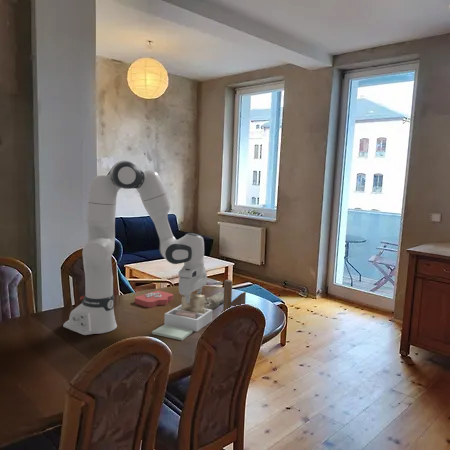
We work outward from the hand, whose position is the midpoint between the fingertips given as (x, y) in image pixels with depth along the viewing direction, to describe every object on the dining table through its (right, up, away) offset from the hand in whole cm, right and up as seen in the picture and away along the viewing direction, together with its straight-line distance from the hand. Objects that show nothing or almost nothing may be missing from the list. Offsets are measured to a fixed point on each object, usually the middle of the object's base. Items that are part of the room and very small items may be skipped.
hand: (193, 299), depth 187 cm
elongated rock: (+8, -8, +25) cm, 27 cm away
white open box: (-2, -10, -2) cm, 10 cm away
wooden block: (+18, -10, +3) cm, 21 cm away
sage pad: (-8, -11, -15) cm, 20 cm away
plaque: (-21, -7, +26) cm, 34 cm away
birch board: (0, -10, +1) cm, 10 cm away
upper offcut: (-3, -8, -6) cm, 10 cm away
